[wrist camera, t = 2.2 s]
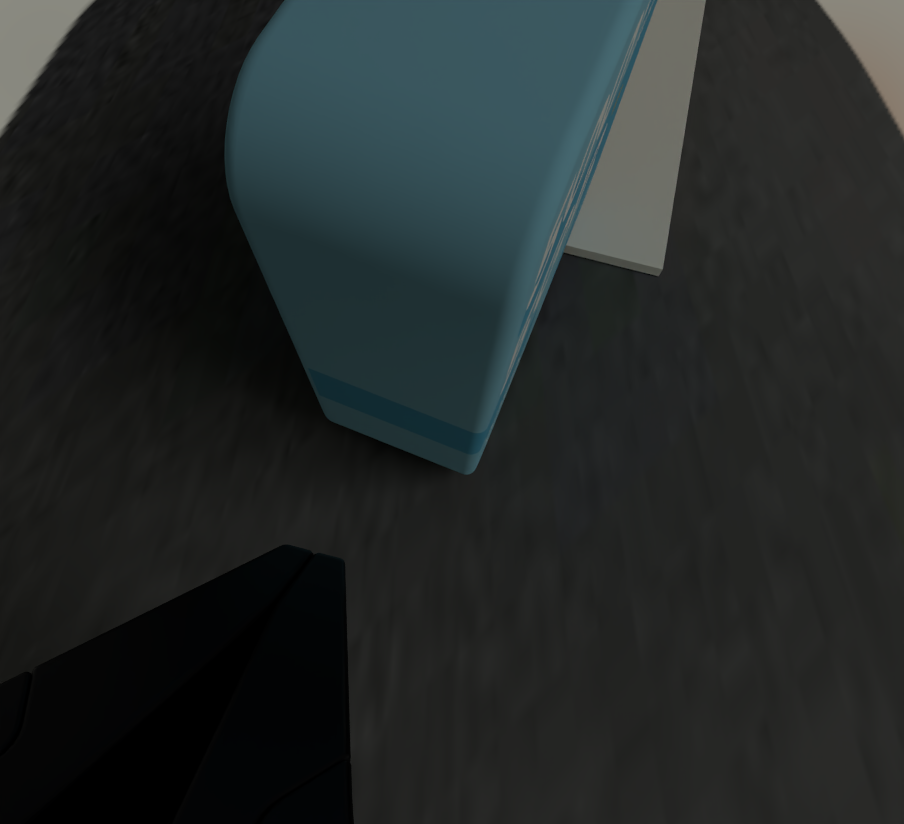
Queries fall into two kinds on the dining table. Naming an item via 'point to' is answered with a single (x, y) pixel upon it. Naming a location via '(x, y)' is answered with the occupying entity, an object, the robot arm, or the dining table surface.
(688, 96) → the mat
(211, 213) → the dining table surface
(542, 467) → the dining table surface
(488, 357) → the blue rounded flat block
